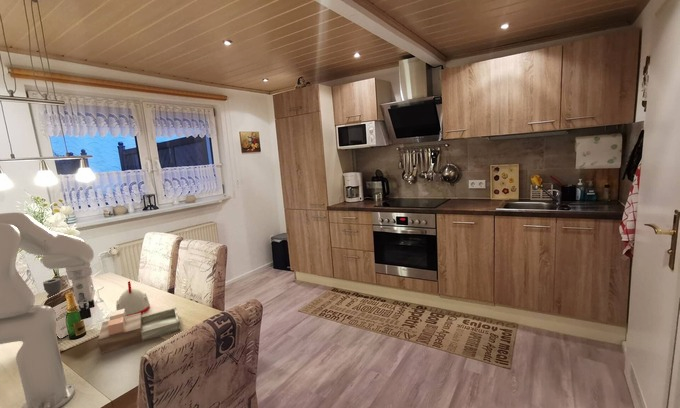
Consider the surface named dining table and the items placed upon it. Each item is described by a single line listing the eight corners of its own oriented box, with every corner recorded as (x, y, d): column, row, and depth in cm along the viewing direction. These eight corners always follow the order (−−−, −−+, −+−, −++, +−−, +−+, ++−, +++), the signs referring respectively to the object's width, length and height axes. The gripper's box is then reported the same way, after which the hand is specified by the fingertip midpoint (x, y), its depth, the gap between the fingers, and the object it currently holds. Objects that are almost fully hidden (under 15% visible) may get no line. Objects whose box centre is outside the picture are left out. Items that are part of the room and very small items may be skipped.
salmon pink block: (124, 331, 130) (122, 322, 129) (109, 335, 127) (107, 326, 127) (125, 325, 134) (123, 316, 133) (110, 329, 131) (108, 320, 131)
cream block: (125, 321, 137) (124, 313, 137) (111, 325, 135) (109, 316, 134) (126, 317, 142) (124, 308, 141) (112, 320, 139) (110, 312, 138)
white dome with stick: (149, 302, 170) (144, 275, 167) (150, 312, 158) (146, 283, 156) (117, 310, 162) (112, 282, 160) (116, 321, 151) (111, 291, 149)
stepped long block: (180, 330, 140) (178, 317, 139) (100, 353, 126) (97, 339, 125) (177, 315, 153) (175, 303, 152) (105, 335, 139) (102, 322, 138)
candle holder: (50, 340, 138) (38, 284, 134) (59, 332, 144) (47, 279, 140) (68, 337, 139) (56, 282, 135) (75, 329, 145) (64, 277, 141)
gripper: (88, 277, 121) (97, 319, 124) (94, 263, 135) (102, 301, 138) (62, 282, 117) (72, 325, 120) (71, 268, 131) (80, 307, 135)
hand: (88, 312), depth 129 cm, fingers open, 9 cm apart
